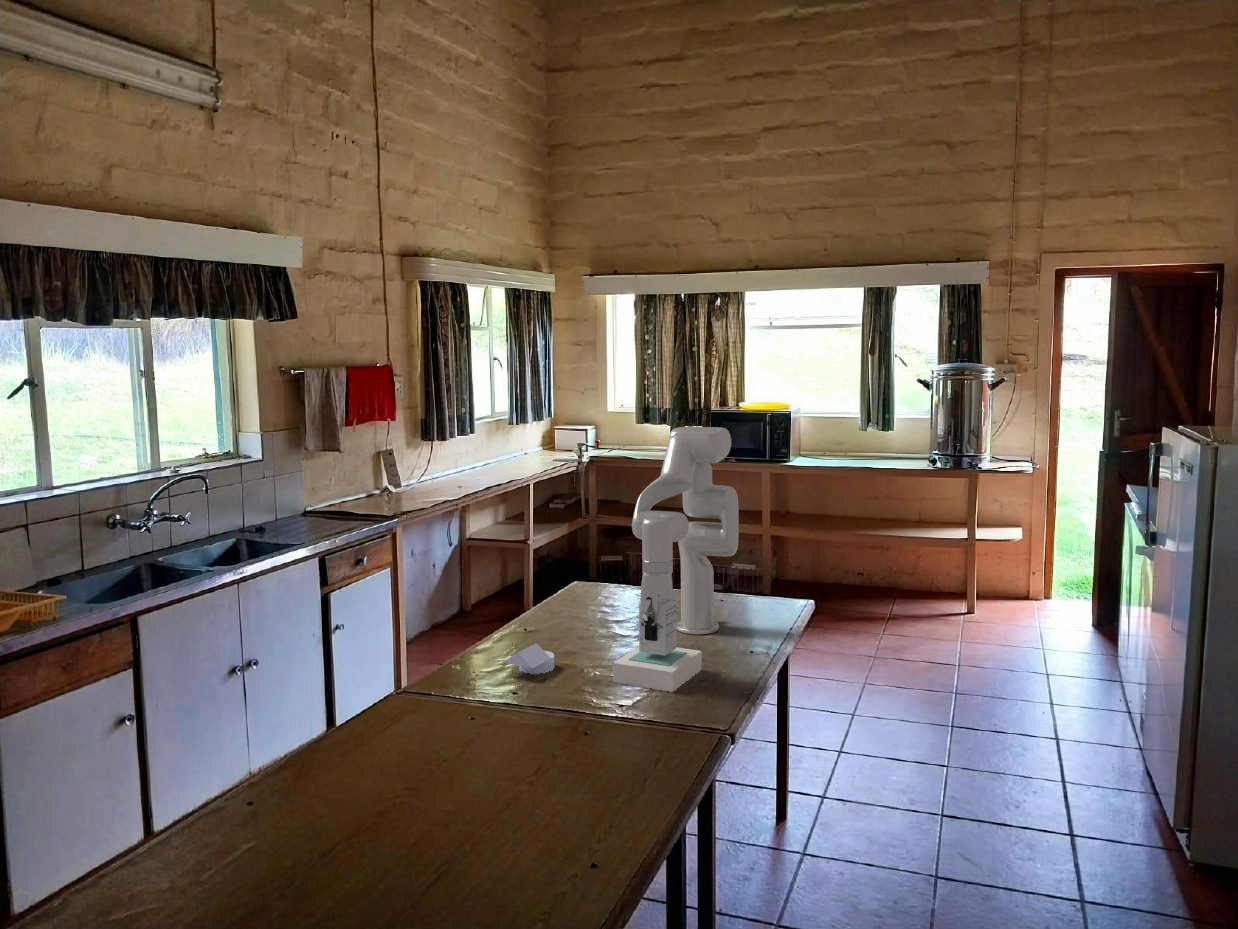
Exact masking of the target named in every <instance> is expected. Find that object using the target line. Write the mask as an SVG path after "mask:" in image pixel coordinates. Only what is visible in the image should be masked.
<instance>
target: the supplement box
mask: <svg viewBox="0 0 1238 929" xmlns="http://www.w3.org/2000/svg"><path fill="white" fill-rule="evenodd" d="M677 600H678V599H677ZM677 600H676V599H675V600H674V599H673V600H670V601H668V602H666V603H665V604H663V605H661V606H660V608H659V614H658V615H657V620H656V625H657V641H650V640H645V625H644V620H643V617H642V614H641V611H640V603H639V604H638V608H639V609H638V610H639V612H638V617H639V618H638V623H639V624H638V625H639V626H638V627H639V628H638V632H639V634H638V636H639V638H638V641H639V643H638V644H639V646H638V647H639V652H646V653H652V654H658V655H663V656H665V655H667V654H668V653H670V652H671V651H673V650H674V649H676V647H677V629H676V623H677V608H678V606H677V605H678V601H677ZM649 612H655V610H654V609H653V607H652V606H651V608H650V610H649ZM649 616H651V618H652V620H653V615H649Z"/></svg>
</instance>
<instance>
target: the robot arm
mask: <svg viewBox="0 0 1238 929" xmlns="http://www.w3.org/2000/svg"><path fill="white" fill-rule="evenodd" d="M731 448H732V437H731V433H730V432H729V430H728V429H727V428H726V427H719V426H717V427H716V426H714V427H713V426H712V427H711V426H680V427H675V428H673V429H672V430H671V431H670V432H669V438H668V441H667V446H666V450H665V455H664V459H663V462H662V466H661V472H660V475H659V477H657V478H656V479H655V480H653V481H652V482H650V484H649V485H648V486H646V487H645V489H643V491H642V492H641V493H640V495H638V497H637V501H636V503H635V508H634V511H633V517H632V521H631V530H632V534H633V535H634V537H636V538H637V539H639V540H642V542H641V544H642V545H641V546H642V547H641V548H642V549H641V550H642V551H641V552H642V553H641V555H642V556H641V558H642V564H641V565H642V567H641V568H642V578H641V583H640V584H641V585H640V600H639V601H640V602H639V604H640V611H641V614H642V617H643V620H644V625H645V640H650V641H657V625H656V620H657V615H658V614H659V608H660V606H661V605H663V604H665V603H666V602H668V601H670V600H674V588H673V575H672V574H673V571H674V570H673V569H674V568H673V566H674V565H673V562H674V561H673V560H674V559H673V558H674V556H673V555H674V552H673V550H674V549H673V547H674V546H673V543H677V545H678V550H679V559H680V621H677V622H676V631H678V632H680V633H684V634H688V635H708V634H713V633H716V632H718V631H719V629H720V625H719V623H718V622H716V621H714V618H715V615H716V614H717V610H716V609H715V608H714V607H715V606H714V604H715V603H714V602H715V599H714V595H715V593H714V592H715V589H714V588H715V586H714V585H715V583H714V581H715V580H714V578H715V577H714V576H715V575H714V573H715V572H714V568H713V565H712V563H711V561H710V560H709V559H708V556H709V557H710V556H712V557H733V556H734V555H735V554H736V553H737V551H738V548H739V526H740V525H739V522H740V521H739V510H740V509H739V497H738V493H737V491H736V489H735V488H734V487H732V486H731V485H719V484H717V485H715V484H713V468H712V465H711V464H718V463H719V462H721V461H722V460H724V459H725V458H726V457H728V455H729V453H730V451H731ZM680 494H682V508H683V512H684V513H683V512H678V511H665V510H651V509H652V508H653V507H654V506H655V505H657V504H658V503H660V502H661V501H665V500H666V499H669V498H672V497H675V496H678V495H680ZM687 516H688V517H691V518H700V519H718V520H720V522H709V521H689V520H688V517H687ZM651 606H652V607H653V609H654V610H655V612H649V610H650V608H651ZM649 615H653V620H652V618H651V616H649Z"/></svg>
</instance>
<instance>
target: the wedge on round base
mask: <svg viewBox="0 0 1238 929" xmlns="http://www.w3.org/2000/svg"><path fill="white" fill-rule="evenodd" d="M503 664H508V665H514V666H519V668H518V669H519V671H520V672H521V671H523V672H522V673H524V672H525V673H524V674H527V673H530V674H529V675H541V674H540V673H543V674H547V673H549V671H550V672H552V671H554V670H553V669H555V653H554V652H552V651H548V650H544V649H543V648H542V647H541V646H540V645H539V644H538V643H537V642H536V643H534V644H532V645H530V646H527V647H526V648H524V649H521V650H520V651H517V652H516V653H514V654H513V655H512V656H510V657H509V658H507V659H506V660H505V661H503ZM546 672H547V673H546Z"/></svg>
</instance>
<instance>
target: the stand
mask: <svg viewBox="0 0 1238 929" xmlns="http://www.w3.org/2000/svg"><path fill="white" fill-rule="evenodd" d="M612 664H613V667H612V668H613V670H612V671H613V673H612V674H613V676H612V677H613V678H612V681H613V683H615V684H620V685H626V684H627V686H634V687H639V688H644V689H650V688H652V689H651V690H657V691H661V690H662V692H667V691H669V692H668V693H674V692H675V691H676V690H678V689H679V688H680V687H681V686H683V685H684V684H685V683H687V682H688V681H689V680H691V679H692V678H693V677H694V676H695V674H696V675H697V674H698V673H700V672H701V671H702V650H697V649H691V648H690V649H689V648H683V647H677V646H676V649H674V650H673V651H671V652H670V653H668V654H667V655H665V656H663V655H658V654H652V653H646V652H639V646H638V647H636V648H635V649H633V650H631V651H629V652H628V653H626V654H625V655H624V656H622V657H620V658H619V659H617V660H615V661H614V662H613V663H612ZM692 676H693V677H692ZM686 681H687V682H686ZM682 684H683V685H682ZM677 688H678V689H677ZM673 691H674V692H673Z"/></svg>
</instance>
